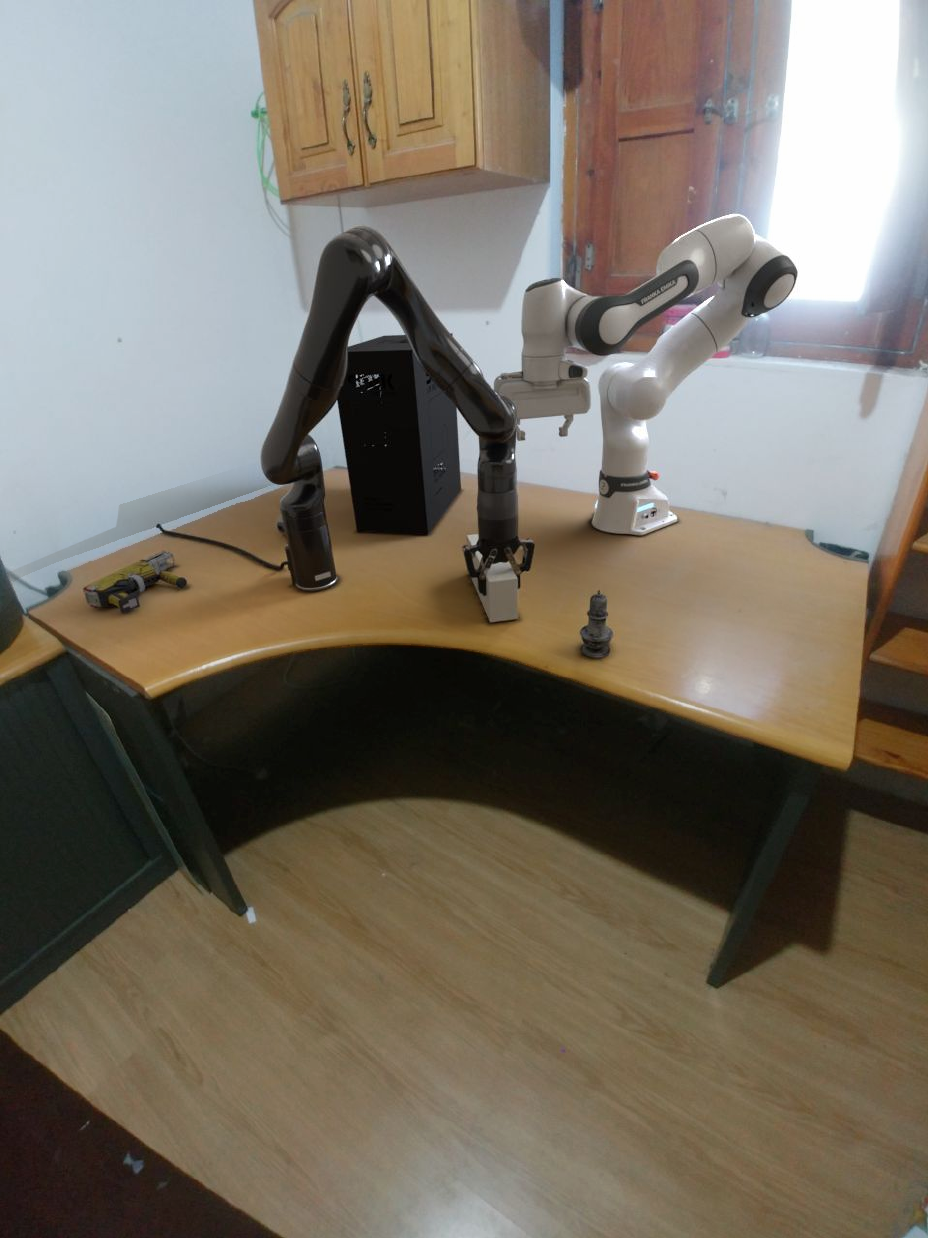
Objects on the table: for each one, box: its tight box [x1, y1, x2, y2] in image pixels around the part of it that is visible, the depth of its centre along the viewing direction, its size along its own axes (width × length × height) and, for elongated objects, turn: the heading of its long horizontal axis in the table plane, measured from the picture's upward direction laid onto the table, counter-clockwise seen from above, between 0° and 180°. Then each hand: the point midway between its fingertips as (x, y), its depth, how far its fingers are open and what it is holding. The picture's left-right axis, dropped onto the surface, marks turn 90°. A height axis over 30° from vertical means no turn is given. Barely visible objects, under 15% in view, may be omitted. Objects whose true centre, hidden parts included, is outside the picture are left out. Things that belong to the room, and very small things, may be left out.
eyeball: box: [275, 513, 286, 535], centre depth 163 cm, size 6×6×6 cm
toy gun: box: [82, 550, 188, 615], centre depth 138 cm, size 5×24×15 cm
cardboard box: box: [336, 332, 462, 536], centre depth 166 cm, size 38×20×45 cm, turn 167°
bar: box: [466, 533, 519, 623], centre depth 126 cm, size 24×6×9 cm, turn 10°
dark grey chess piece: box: [579, 589, 614, 659], centre depth 105 cm, size 6×6×12 cm
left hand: (499, 591), depth 119 cm, fingers closed on bar, 5 cm apart
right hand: (542, 438), depth 131 cm, fingers open, 8 cm apart
